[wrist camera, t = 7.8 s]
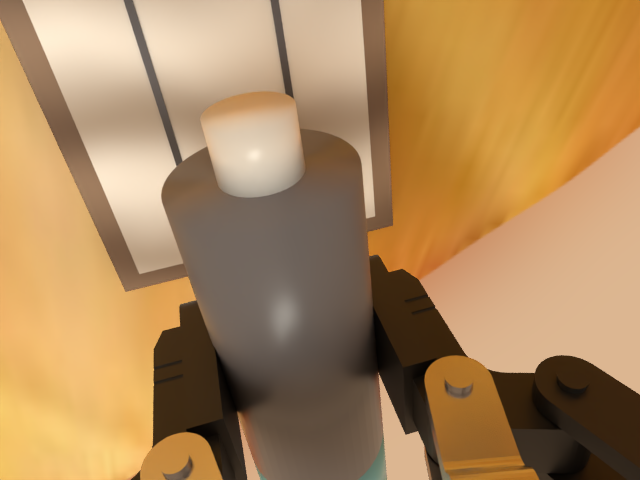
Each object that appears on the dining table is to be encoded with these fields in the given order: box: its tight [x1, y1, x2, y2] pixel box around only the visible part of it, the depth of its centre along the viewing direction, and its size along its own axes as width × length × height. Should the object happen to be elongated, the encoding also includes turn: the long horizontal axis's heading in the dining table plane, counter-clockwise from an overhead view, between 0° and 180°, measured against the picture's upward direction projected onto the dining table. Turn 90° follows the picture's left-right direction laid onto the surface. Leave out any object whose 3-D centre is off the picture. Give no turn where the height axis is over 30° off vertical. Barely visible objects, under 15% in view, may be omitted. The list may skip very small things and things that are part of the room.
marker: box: [161, 91, 387, 480], centre depth 12 cm, size 12×4×4 cm, turn 7°
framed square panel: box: [0, 0, 393, 292], centre depth 23 cm, size 15×14×1 cm
